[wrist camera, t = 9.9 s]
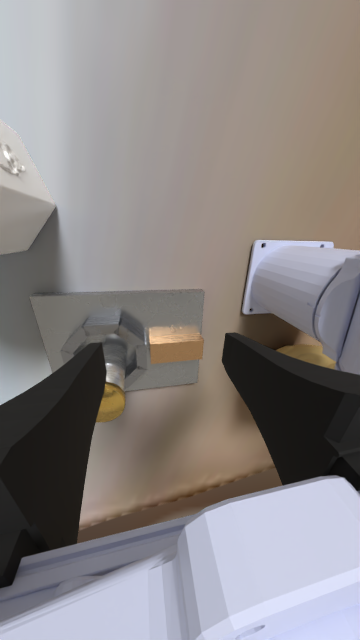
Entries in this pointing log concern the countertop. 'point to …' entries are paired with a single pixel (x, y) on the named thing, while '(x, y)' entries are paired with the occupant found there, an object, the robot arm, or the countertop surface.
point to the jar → (20, 195)
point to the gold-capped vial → (113, 383)
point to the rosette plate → (135, 310)
